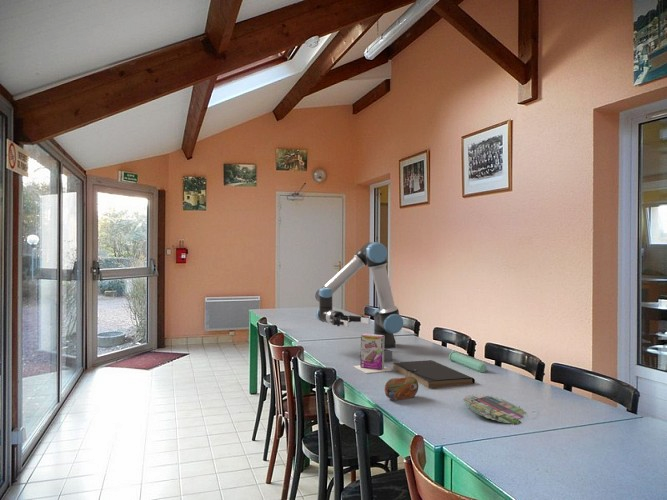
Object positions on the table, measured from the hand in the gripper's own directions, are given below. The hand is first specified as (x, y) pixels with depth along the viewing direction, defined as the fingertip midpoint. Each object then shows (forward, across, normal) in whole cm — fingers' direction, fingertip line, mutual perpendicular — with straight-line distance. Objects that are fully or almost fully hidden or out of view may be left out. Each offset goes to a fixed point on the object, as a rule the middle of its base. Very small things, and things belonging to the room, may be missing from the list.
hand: (358, 322), depth 237 cm
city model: (+83, 0, -23) cm, 86 cm away
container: (+33, -45, -23) cm, 60 cm away
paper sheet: (+11, 0, -22) cm, 24 cm away
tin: (+52, +18, -22) cm, 59 cm away
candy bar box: (+11, 0, -21) cm, 24 cm away
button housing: (-3, -16, -22) cm, 27 cm away
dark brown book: (+36, -16, -23) cm, 45 cm away
